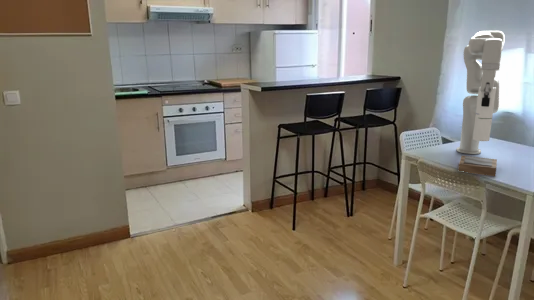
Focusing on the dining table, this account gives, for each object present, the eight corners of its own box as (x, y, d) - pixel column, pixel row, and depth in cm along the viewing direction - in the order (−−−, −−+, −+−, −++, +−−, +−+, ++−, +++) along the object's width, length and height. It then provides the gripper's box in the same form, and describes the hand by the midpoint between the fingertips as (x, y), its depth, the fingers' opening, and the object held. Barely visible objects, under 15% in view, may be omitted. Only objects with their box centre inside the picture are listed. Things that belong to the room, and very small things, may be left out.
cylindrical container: (482, 137, 205) (488, 86, 198) (492, 140, 198) (499, 88, 191) (469, 138, 203) (475, 86, 196) (479, 141, 196) (486, 88, 190)
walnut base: (460, 162, 215) (461, 154, 214) (495, 167, 208) (497, 158, 207) (457, 171, 202) (458, 163, 200) (495, 176, 194) (496, 167, 193)
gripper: (481, 65, 200) (477, 102, 205) (480, 68, 186) (475, 107, 190) (499, 65, 197) (494, 103, 202) (499, 68, 182) (494, 108, 187)
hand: (485, 104), depth 196 cm, fingers closed on cylindrical container, 7 cm apart
